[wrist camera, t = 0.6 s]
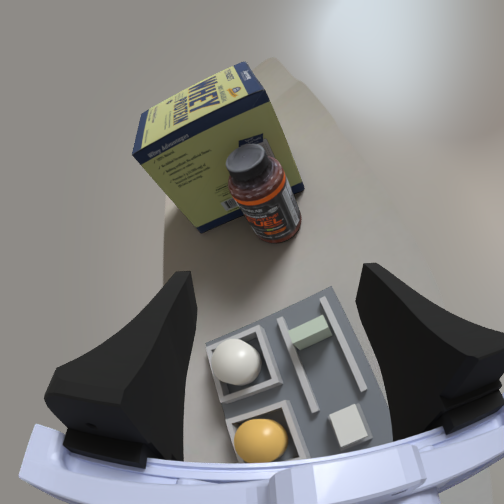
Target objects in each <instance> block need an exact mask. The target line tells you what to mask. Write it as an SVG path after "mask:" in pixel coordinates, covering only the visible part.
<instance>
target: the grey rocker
mask: <svg viewBox="0 0 504 504" xmlns="http://www.w3.org/2000/svg"><path fill="white" fill-rule="evenodd" d="M329 416H330V418H331V421H332V424H333V427H334V429H335V432H336V435H337V438H338V441H339V444H340V446H341V447H342V448H343V447H345V446H348V445H350V444H353V443H355V442H357V441H360V440H362V439H364V438H367V437H368V434H367V432H366V429H365V427H364V424H363V422H362V419H361V417H360V414H359V412H358V409H357V407H356V405H355V404H353V405H351V406H348V407H346V408H344V409H342V410H339V411H337V412H335V413H332V414H330V415H329Z"/></svg>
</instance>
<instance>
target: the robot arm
mask: <svg viewBox="0 0 504 504" xmlns="http://www.w3.org/2000/svg"><path fill="white" fill-rule="evenodd" d="M355 301H356V305H357V309H358V313H359V316H360V319H361V322H362V325H363V327H364V329H365V332H366V334H367V337H368V339H369V341H370V344H371V346H372V348H373V351H374V353H375V356H376V358H377V361H378V364H379V366H380V370H381V373H382V377H383V381H384V385H385V390H386V395H387V400H388V405H389V411H390V418H391V425H392V436H393V442H391V443H387V444H384V445H380V446H375V447H371V448H367V449H362V450H358V451H353V452H348V453H343V454H337V455H331V456H325V457H318V458H310V459H302V460H293V461H282V462H267V463H236V464H227V463H196V462H184V457H183V419H184V398H185V384H186V376H187V370H188V365H189V361H190V356H191V351H192V346H193V341H194V336H195V331H196V321H197V305H196V299H195V294H194V288H193V283H192V277H191V271H180V272H175V273H174V275H173V276H172V277H171V278H170V279H169V280H168V282H167V283H166V284H165V285H164V286H163V288H162V289H161V290H160V291H159V292H158V293H157V295H156V296H155V297H154V298H153V299H152V300H151V301H150V302H149V304H148V305H147V306H146V307H145V308H144V309H143V310H142V311H141V312H140V313H139V314H138V315H137V316H136V317H135V318H134V319H133V320H132V321H131V322H129V323H128V324H127V325H126V326H125V327H124V328H122V329H121V330H120V331H119V332H117V333H116V334H115V335H113V336H112V337H110V338H109V339H108V340H106V341H105V342H104V343H102V344H101V345H99V346H98V347H96V348H94V349H93V350H91V351H89V352H88V353H86V354H84V355H83V356H80V357H79V358H77V359H75V360H73V361H70V362H68V363H66V364H64V365H62V366H60V367H57V368H56V370H55V372H54V375H53V377H52V379H51V381H50V384H49V386H48V388H47V391H46V393H45V396H44V400H45V402H46V404H47V406H48V408H49V409H50V410H51V411H52V412H53V413H54V415H56V417H57V418H58V419H59V420H60V421H62V423H63V424H64V425H65V426H66V427H67V428H68V429H67V432H66V435H65V434H64V433H61V432H60V431H57V430H55V429H52V428H48V427H45V426H42V425H39V424H35V426H34V429H33V432H32V434H31V437H30V440H29V443H28V446H27V449H26V453H25V456H24V459H23V463H22V466H21V469H20V473H19V477H20V479H22V480H23V481H25V482H27V483H28V484H30V485H32V486H34V487H35V488H37V489H39V490H41V491H43V492H45V493H47V494H49V495H51V496H53V497H54V498H57V499H59V500H62V501H64V502H67V503H69V504H441V502H440V499H439V495H438V493H440V492H443V491H445V490H447V489H449V488H451V487H453V486H455V485H457V484H459V483H461V482H463V481H464V480H466V479H468V478H470V477H472V476H474V475H475V474H477V473H479V472H481V471H482V470H484V469H486V468H487V467H489V466H491V465H492V464H494V463H495V462H497V461H499V460H500V459H502V458H503V457H504V393H503V394H501V393H500V391H499V389H500V388H501V387H502V384H501V382H500V380H499V379H500V377H501V376H502V375H503V373H504V333H503V332H499V331H495V330H492V329H488V328H485V327H482V326H480V325H477V324H474V323H472V322H469V321H467V320H465V319H462V318H460V317H458V316H456V315H454V314H452V313H450V312H448V311H446V310H445V309H443V308H441V307H439V306H438V305H436V304H434V303H433V302H431V301H429V300H428V299H426V298H425V297H423V296H422V295H420V294H419V293H417V292H416V291H415V290H413V289H412V288H410V287H409V286H408V285H406V284H405V283H404V282H402V281H401V280H400V279H398V278H397V277H396V276H394V275H393V274H392V273H390V272H389V271H388V270H386V269H385V268H383V267H382V266H380V265H379V264H377V263H364V264H363V268H362V273H361V278H360V282H359V287H358V291H357V296H356V300H355Z"/></svg>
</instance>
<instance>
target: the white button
mask: <svg viewBox="0 0 504 504" xmlns="http://www.w3.org/2000/svg"><path fill="white" fill-rule="evenodd" d="M211 366H212V370H213V372H214V374H215V376H216V377H217V378H218V379H219V380H221V381H223V382H226V383H230V384H233V385H238V386H243V385H247V384H249V383H251V382H253V381H254V380H255V379H256V378H257V376H258V375H259V373H260V370H261V366H262V361H261V357H260V354H259V353H258V351H257V350H256V349H255V348H254V347H252V346H250V345H249V344H247V343H246V342H244V341H242V340H239V339H229V340H226V341H224V342H222V343H221V344H219V345H218V346H217V348H216V349H215V351H214V353H213V355H212V359H211Z"/></svg>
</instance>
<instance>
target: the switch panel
mask: <svg viewBox="0 0 504 504" xmlns="http://www.w3.org/2000/svg"><path fill="white" fill-rule="evenodd" d="M321 315H323V316H324V318H325V320H326V322H327V324H328V327H329V329H330V331H331V333H332V336H330V337H328V338H326V339H324V340H322V341H320V342H317V343H315V344H313V345H311V346H309V347H306V348H304V349H302V350H299V349H298V348H297V347H296V346H295V345H294V344H293V343H292V341H291V338H290V336H289V333H288V331H289V330H291V329H293V328H295V327H298V326H300V325H302V324H304V323H306V322H308V321H311V320H313V319H315V318H317V317H319V316H321ZM229 339H239V340H242V341H244V342H246V343H247V344H249V345H250V346H252V347H254V348H255V349H256V350H257V351H258V353H259V354H260V357H261V361H262V366H261V370H260V373H259V375H258V376H257V378H256V379H255V380H254V381H253V382H251V383H249V384H247V385H243V386H238V385H233V384H230V383H226V382H223V381H221V380H219V379H218V378H217V377H216V376H215V374H214V372H213V370H212V366H211V359H212V355H213V353H214V351H215V349H216V348H217V346H218V345H219V344H221V343H222V342H224V341H226V340H229ZM206 351H207V355H208V359H209V363H210V367H211V371H212V375H213V378H214V382H215V386H216V390H217V393H218V397H219V400H220V403H221V404H222V407H223V411H224V414H225V418H226V420H225V421H226V425H227V428H228V431H229V434H230V438H231V441H232V444H233V447H234V450H235V446H234V436H235V433H236V431H237V429H238V428H239V427H240V426H241V425H242V424H243V423H245V422H247V421H249V420H253V419H271V420H274V421H276V422H278V423H280V424H281V425H282V426H283V427H284V429H285V430H286V432H287V435H288V446H287V449H286V451H285V452H284V453H283V455H281V456H280V457H279V458H277V459H275V460H273V461H271V462H282V461H293V460H302V459H310V458H318V457H325V456H331V455H337V454H343V453H348V452H353V451H358V450H362V449H367V448H371V447H375V446H380V445H384V444H387V443H391V442H393V436H392V425H391V418H390V411H389V408H388V406H387V403H386V401H385V399H384V396H383V394H382V392H381V390H380V387H379V385H378V383H377V380H376V378H375V376H374V374H373V372H372V369H371V367H370V365H369V363H368V361H367V358H366V356H365V354H364V352H363V350H362V348H361V345H360V343H359V341H358V339H357V337H356V335H355V333H354V331H353V329H352V326H351V324H350V322H349V320H348V318H347V316H346V314H345V312H344V310H343V308H342V306H341V304H340V302H339V300H338V298H337V296H336V294H335V292H334V290H333V288H332V286H330V287H328V288H326V289H324V290H322V291H320V292H318V293H316V294H314V295H312V296H310V297H308V298H306V299H304V300H302V301H299V302H297V303H295V304H293V305H291V306H289V307H287V308H285V309H282V310H280V311H278V312H276V313H274V314H272V315H269V316H267V317H265V318H263V319H261V320H258V321H256V322H254V323H252V324H249V325H247V326H245V327H242V328H240V329H238V330H235V331H233V332H231V333H228V334H226V335H224V336H221V337H219V338H217V339H214V340H212V341H209V342H207V343H206ZM353 404H355V405H356V407H357V409H358V412H359V414H360V417H361V419H362V422H363V424H364V427H365V429H366V432H367V434H368V437H367V438H364V439H362V440H360V441H357V442H355V443H353V444H350V445H348V446H345V447H343V448H342V447H341V446H340V444H339V441H338V438H337V435H336V432H335V429H334V427H333V424H332V421H331V418H330V416H329V415H330V414H332V413H335V412H337V411H339V410H342V409H344V408H346V407H348V406H351V405H353ZM235 454H236V457H237V460H238V463H248V462H246V461H244V460H243V459H242V458H241V457H240V456H239V455H238V454H237V452H236V450H235Z"/></svg>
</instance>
